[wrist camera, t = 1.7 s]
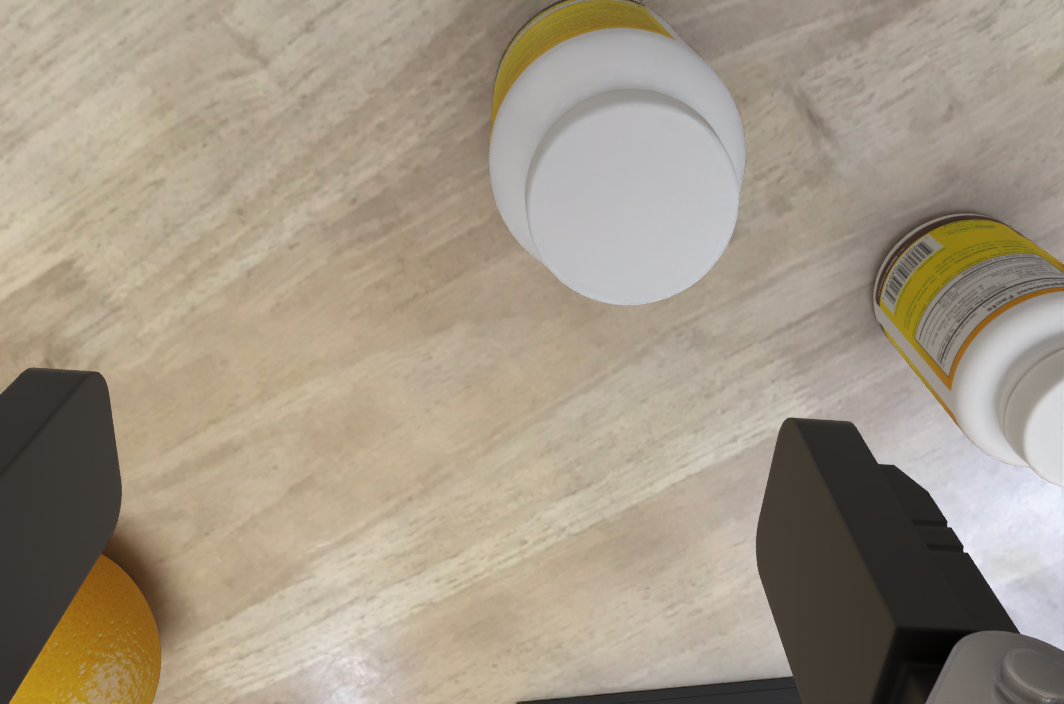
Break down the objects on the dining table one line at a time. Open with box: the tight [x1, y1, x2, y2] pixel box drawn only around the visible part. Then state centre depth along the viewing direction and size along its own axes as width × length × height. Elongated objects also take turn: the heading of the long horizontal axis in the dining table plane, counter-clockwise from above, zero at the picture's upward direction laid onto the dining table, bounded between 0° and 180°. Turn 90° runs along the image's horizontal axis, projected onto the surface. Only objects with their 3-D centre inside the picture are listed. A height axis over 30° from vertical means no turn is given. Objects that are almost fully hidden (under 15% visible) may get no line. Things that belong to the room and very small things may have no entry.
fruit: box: [9, 554, 161, 704], centre depth 37 cm, size 9×8×8 cm
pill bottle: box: [489, 0, 746, 305], centre depth 26 cm, size 6×6×12 cm
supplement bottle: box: [873, 214, 1064, 487], centre depth 30 cm, size 6×6×10 cm
